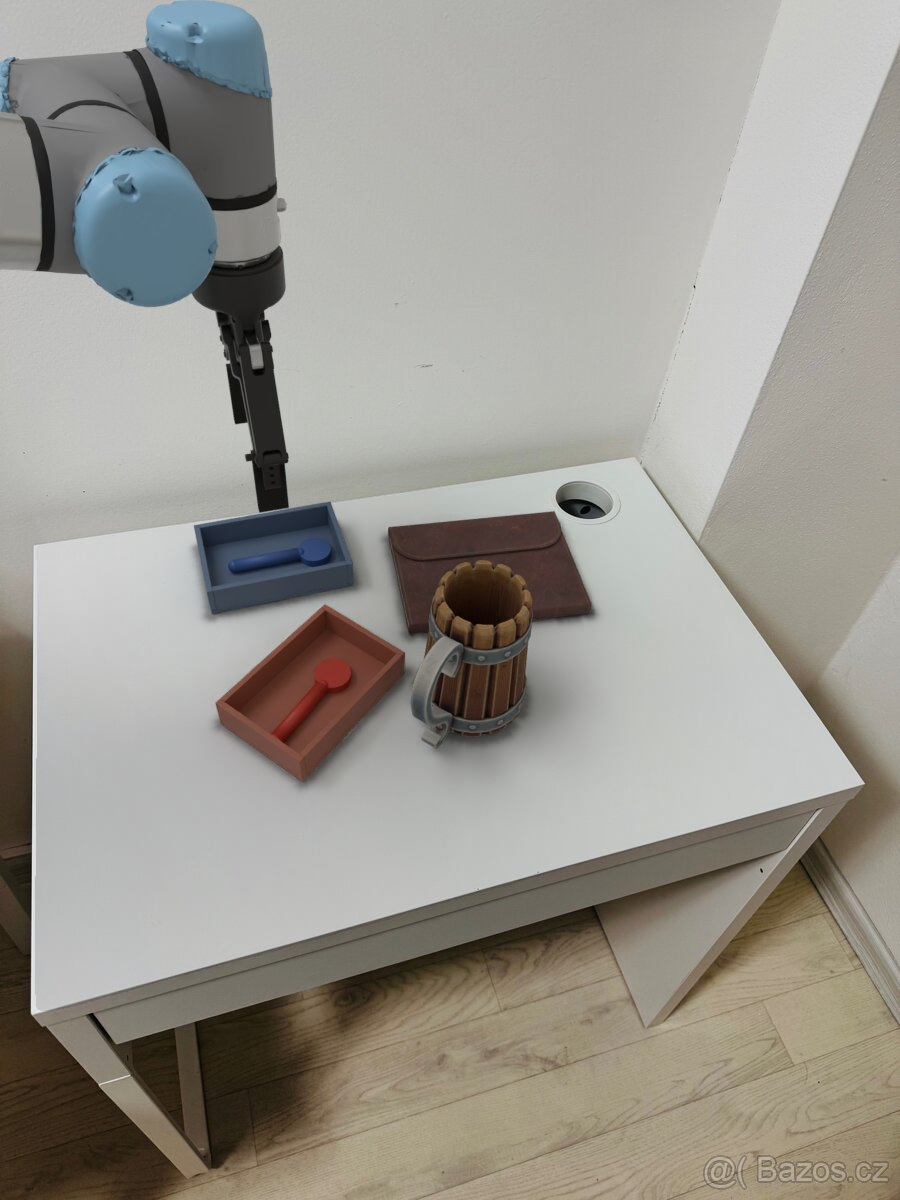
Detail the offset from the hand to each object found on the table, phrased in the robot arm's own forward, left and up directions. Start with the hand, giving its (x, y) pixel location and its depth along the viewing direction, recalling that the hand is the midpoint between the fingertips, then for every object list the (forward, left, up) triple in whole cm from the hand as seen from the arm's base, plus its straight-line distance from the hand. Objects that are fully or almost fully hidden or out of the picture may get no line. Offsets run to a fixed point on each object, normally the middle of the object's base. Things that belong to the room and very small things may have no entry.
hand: (260, 462), depth 81 cm
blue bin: (0, 0, -15) cm, 15 cm away
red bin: (+15, -10, -15) cm, 23 cm away
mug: (+27, -3, -15) cm, 31 cm away
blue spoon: (0, +1, -15) cm, 15 cm away
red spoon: (+15, -11, -15) cm, 24 cm away
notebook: (+19, +14, -15) cm, 28 cm away
